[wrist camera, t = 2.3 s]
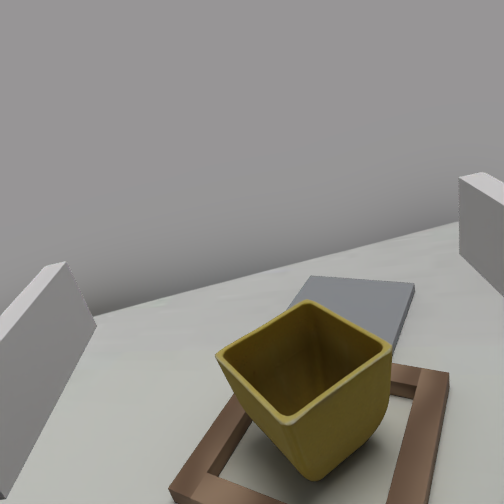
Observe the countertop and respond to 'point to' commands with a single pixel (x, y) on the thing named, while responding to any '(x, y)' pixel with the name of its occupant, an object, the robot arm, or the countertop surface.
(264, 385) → the flower pot
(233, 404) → the board
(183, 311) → the countertop surface
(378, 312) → the mat
